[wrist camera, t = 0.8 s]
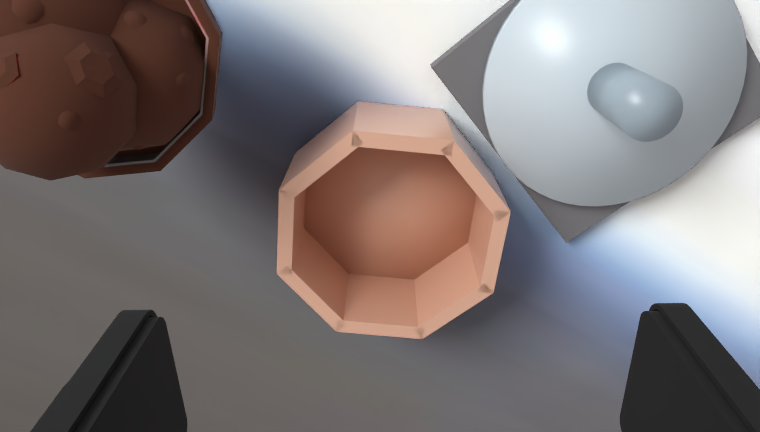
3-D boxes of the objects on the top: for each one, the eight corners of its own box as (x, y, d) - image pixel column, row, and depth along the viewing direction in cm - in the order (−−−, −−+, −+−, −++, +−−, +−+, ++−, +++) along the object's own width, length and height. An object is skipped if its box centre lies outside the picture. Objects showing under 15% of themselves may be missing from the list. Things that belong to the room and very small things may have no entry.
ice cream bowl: (304, 28, 32) (243, 87, 18) (175, 156, 35) (41, 288, 21) (152, -138, 28) (-62, -219, 15) (25, 19, 32) (-247, 73, 18)
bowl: (405, 61, 32) (409, 84, 27) (523, 211, 36) (547, 258, 31) (254, 186, 36) (230, 229, 30) (376, 311, 39) (375, 369, 34)
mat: (653, -117, 29) (662, -119, 28) (770, 99, 33) (781, 103, 32) (430, 64, 32) (431, 67, 31) (561, 235, 37) (566, 242, 36)
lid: (662, -119, 28) (727, -135, 22) (780, 103, 32) (858, 133, 27) (431, 67, 31) (441, 91, 26) (566, 242, 36) (596, 292, 31)
